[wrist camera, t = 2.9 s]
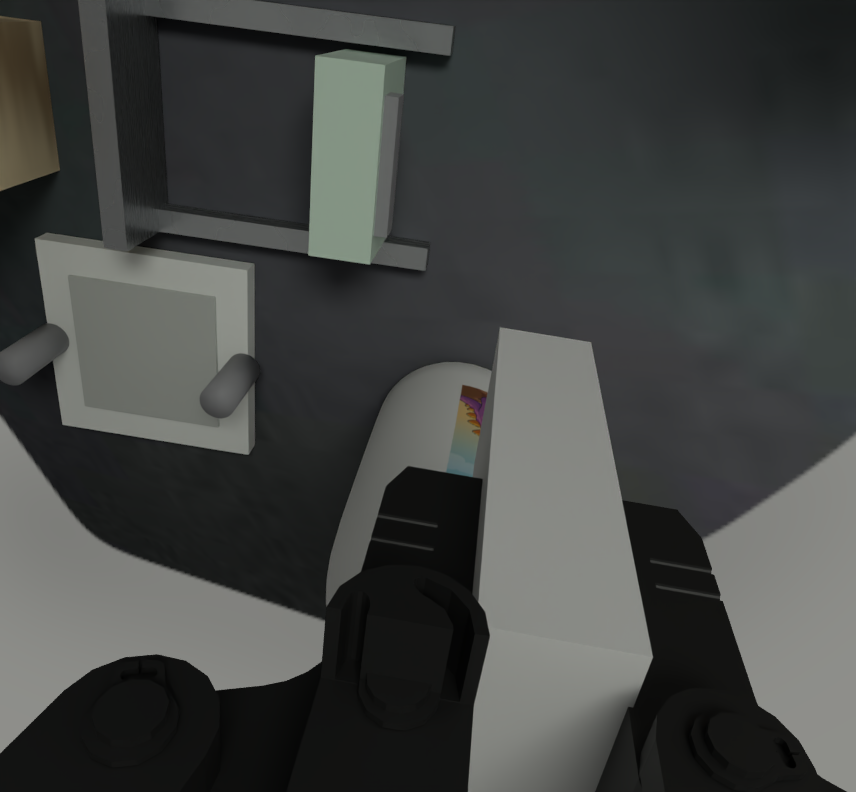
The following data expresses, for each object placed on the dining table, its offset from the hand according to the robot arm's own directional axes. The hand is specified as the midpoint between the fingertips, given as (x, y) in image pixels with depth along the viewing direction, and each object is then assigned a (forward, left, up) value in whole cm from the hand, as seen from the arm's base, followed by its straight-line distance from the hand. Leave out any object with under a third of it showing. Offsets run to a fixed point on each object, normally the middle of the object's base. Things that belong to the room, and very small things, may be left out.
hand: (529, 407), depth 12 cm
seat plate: (+11, -17, -20) cm, 28 cm away
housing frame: (0, -10, -20) cm, 23 cm away
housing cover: (0, -7, -20) cm, 21 cm away
